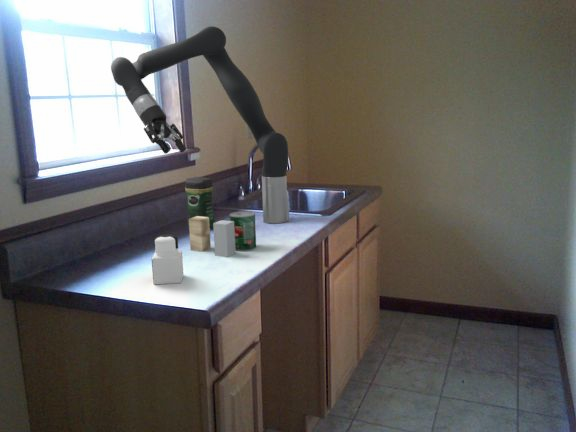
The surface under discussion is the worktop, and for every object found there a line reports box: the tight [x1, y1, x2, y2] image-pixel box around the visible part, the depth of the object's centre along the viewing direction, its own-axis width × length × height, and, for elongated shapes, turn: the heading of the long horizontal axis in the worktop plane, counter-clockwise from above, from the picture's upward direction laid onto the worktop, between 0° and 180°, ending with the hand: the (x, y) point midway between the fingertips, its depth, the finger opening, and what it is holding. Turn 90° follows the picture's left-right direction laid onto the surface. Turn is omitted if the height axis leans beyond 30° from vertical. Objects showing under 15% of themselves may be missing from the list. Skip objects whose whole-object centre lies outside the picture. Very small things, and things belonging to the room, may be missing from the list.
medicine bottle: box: [151, 233, 184, 285], centre depth 152 cm, size 7×7×12 cm
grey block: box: [212, 219, 237, 258], centre depth 175 cm, size 4×4×10 cm
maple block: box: [188, 216, 212, 252], centre depth 182 cm, size 4×4×10 cm
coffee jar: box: [184, 176, 216, 230], centre depth 208 cm, size 10×8×19 cm
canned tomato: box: [229, 210, 257, 252], centre depth 182 cm, size 8×8×11 cm
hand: (176, 151), depth 186 cm, fingers open, 8 cm apart
